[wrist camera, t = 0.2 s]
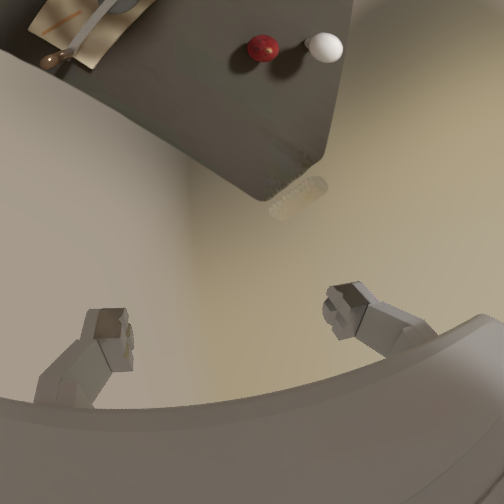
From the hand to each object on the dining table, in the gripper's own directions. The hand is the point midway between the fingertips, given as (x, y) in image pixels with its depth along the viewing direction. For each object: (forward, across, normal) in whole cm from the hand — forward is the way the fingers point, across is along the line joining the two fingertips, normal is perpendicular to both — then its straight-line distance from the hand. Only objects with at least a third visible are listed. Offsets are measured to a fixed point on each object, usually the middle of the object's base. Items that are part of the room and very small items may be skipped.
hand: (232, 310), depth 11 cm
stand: (+44, +19, -32) cm, 58 cm away
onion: (+48, -14, -21) cm, 54 cm away
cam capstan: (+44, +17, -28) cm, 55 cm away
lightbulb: (+46, -24, -24) cm, 57 cm away
